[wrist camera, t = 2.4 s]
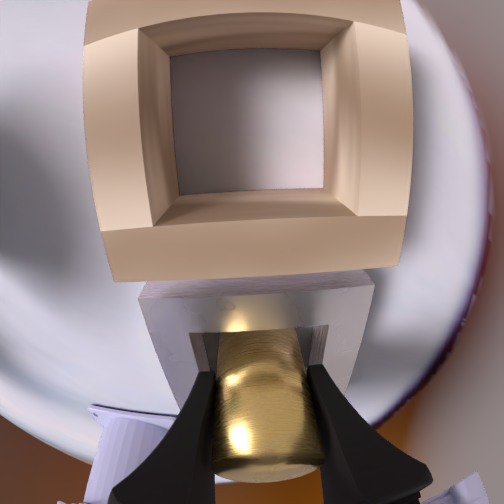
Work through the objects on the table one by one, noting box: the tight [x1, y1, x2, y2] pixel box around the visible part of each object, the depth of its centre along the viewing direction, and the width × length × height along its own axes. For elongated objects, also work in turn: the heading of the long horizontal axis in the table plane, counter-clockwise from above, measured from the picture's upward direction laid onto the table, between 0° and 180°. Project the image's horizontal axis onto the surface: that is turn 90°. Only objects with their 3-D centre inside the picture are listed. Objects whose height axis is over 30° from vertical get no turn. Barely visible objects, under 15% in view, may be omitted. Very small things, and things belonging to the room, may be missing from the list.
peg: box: [211, 328, 325, 483], centre depth 10 cm, size 4×4×7 cm
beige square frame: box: [83, 0, 413, 282], centre depth 8 cm, size 9×9×4 cm
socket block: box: [138, 269, 375, 410], centre depth 13 cm, size 9×9×2 cm
